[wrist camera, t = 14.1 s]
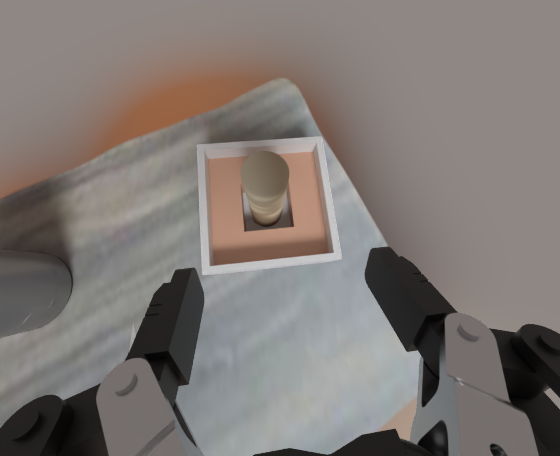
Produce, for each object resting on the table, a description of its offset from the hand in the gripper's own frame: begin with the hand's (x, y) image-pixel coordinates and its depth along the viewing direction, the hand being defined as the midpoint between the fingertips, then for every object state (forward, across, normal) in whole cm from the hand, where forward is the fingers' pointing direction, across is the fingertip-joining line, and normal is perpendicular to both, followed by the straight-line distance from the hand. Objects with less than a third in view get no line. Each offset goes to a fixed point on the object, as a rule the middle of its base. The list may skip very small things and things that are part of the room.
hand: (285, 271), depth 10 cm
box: (+20, 0, +8) cm, 21 cm away
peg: (+19, 0, +8) cm, 20 cm away
